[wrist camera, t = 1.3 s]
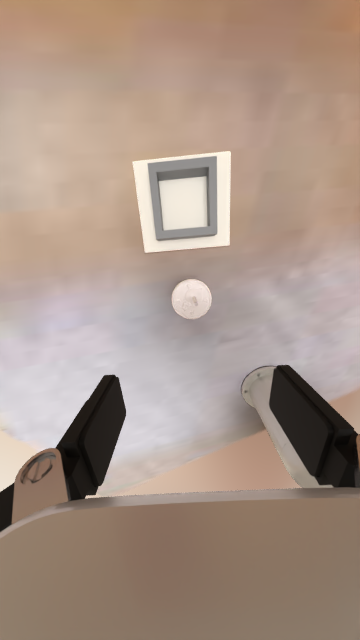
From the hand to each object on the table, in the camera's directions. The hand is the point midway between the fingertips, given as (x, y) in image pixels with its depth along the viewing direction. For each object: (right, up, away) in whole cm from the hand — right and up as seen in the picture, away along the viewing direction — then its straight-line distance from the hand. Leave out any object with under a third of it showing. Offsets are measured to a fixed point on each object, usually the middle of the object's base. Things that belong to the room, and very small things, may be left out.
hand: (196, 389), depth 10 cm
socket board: (0, +25, +21) cm, 32 cm away
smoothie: (+1, +10, +26) cm, 28 cm away
